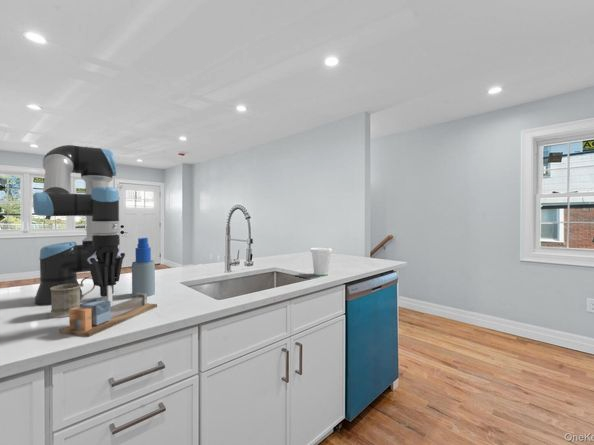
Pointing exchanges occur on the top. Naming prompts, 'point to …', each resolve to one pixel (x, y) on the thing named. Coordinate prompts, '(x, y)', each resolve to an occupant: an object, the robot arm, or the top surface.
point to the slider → (98, 310)
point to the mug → (66, 298)
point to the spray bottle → (143, 270)
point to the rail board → (120, 312)
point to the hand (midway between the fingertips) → (107, 305)
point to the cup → (321, 260)
